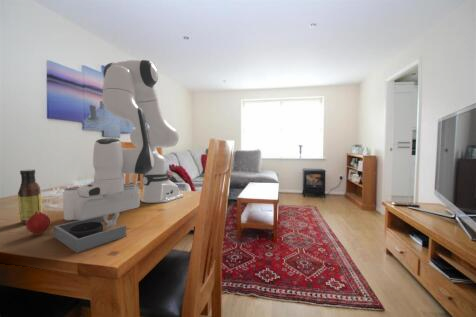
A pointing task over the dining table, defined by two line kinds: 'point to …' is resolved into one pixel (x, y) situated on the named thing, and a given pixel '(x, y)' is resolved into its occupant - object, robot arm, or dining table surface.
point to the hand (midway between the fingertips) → (110, 226)
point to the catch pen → (89, 241)
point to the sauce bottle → (29, 195)
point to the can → (69, 202)
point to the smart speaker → (86, 229)
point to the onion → (38, 223)
